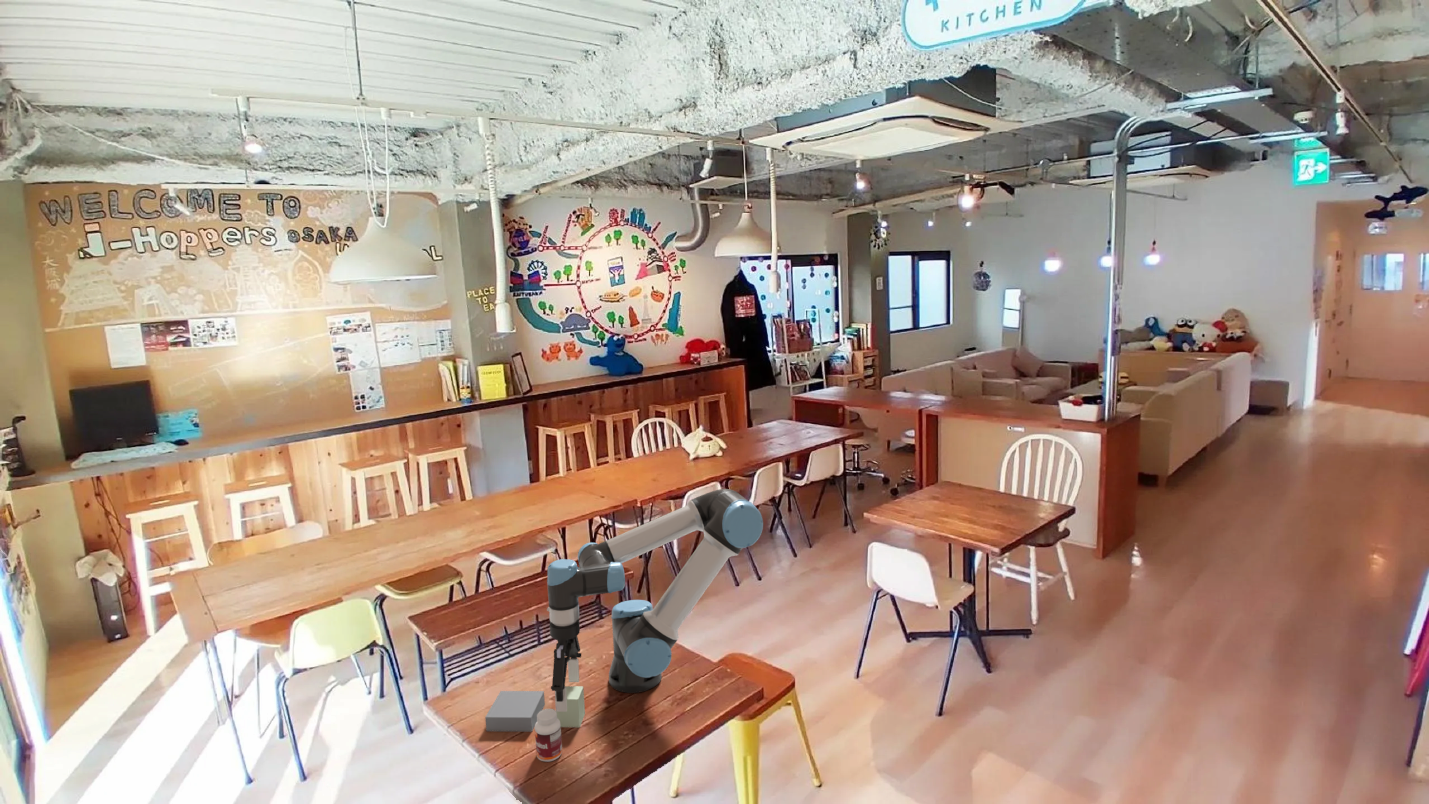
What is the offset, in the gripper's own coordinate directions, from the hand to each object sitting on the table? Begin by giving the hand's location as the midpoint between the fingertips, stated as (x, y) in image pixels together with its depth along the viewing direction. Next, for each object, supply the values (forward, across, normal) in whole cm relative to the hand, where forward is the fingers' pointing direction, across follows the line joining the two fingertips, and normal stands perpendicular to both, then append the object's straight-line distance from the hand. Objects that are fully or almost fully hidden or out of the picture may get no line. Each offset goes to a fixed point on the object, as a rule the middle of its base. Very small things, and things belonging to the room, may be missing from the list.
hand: (568, 695), depth 193 cm
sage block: (+7, 0, 0) cm, 7 cm away
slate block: (+7, -1, -14) cm, 16 cm away
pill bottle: (+8, +14, -2) cm, 16 cm away
